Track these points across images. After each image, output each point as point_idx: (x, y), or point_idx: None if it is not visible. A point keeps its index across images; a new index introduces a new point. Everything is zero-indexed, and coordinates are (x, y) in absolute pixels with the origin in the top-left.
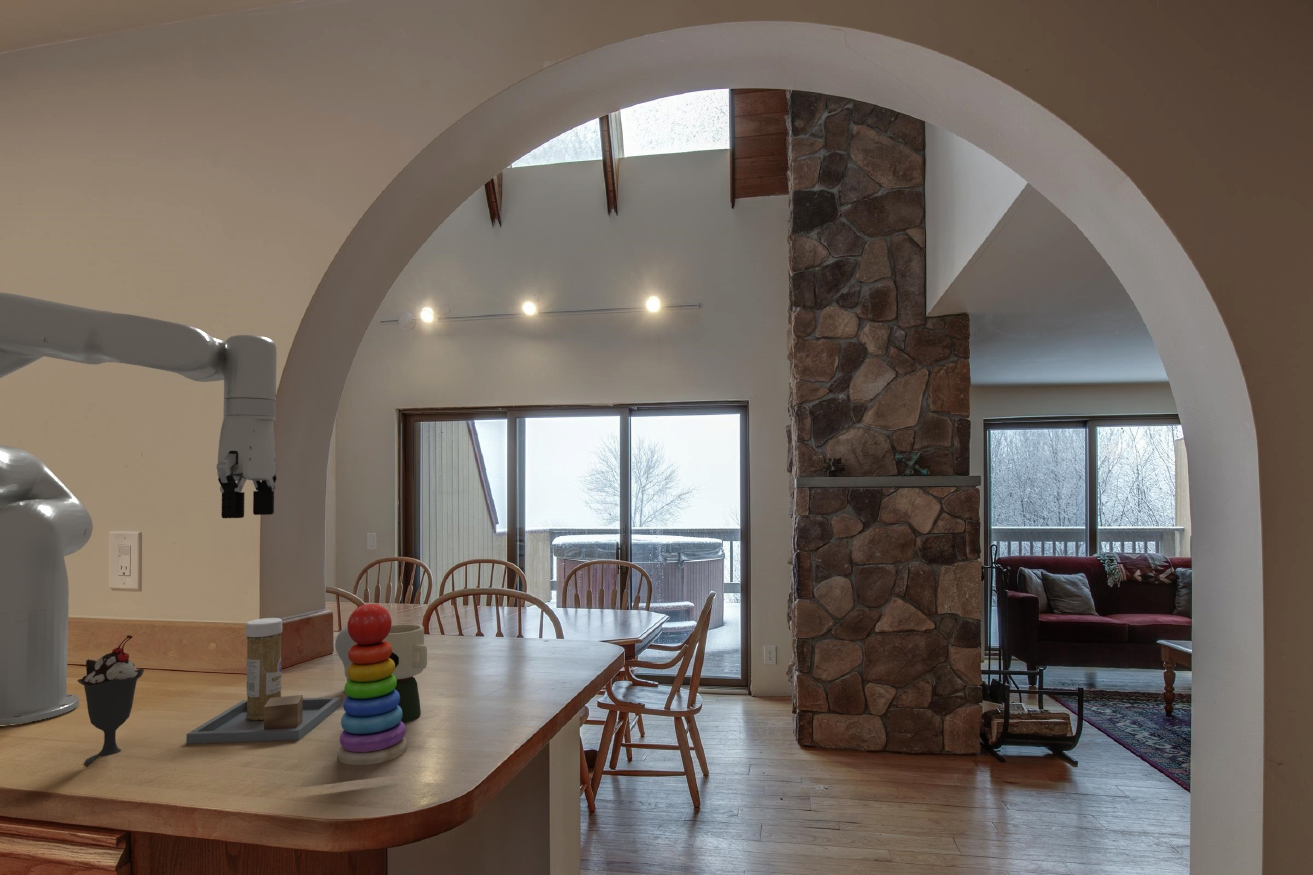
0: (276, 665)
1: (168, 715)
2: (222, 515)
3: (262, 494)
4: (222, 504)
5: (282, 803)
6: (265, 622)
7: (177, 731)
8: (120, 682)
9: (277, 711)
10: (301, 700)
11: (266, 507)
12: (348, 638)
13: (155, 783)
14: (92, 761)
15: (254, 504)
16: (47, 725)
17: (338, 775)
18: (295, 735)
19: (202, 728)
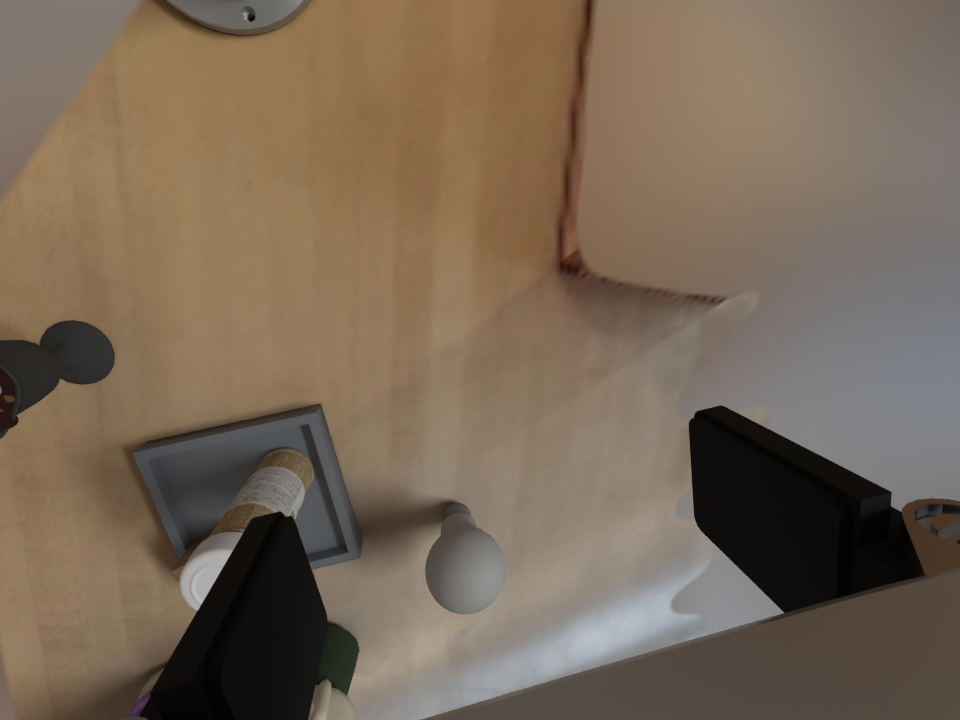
0: None
1: (288, 273)
2: (251, 528)
3: (811, 568)
4: (216, 590)
5: (34, 680)
6: (199, 605)
7: (217, 360)
8: None
9: None
10: None
11: (722, 525)
12: (430, 587)
13: (26, 498)
14: (46, 348)
15: (741, 452)
16: (182, 64)
17: (129, 685)
18: None
19: (165, 454)
